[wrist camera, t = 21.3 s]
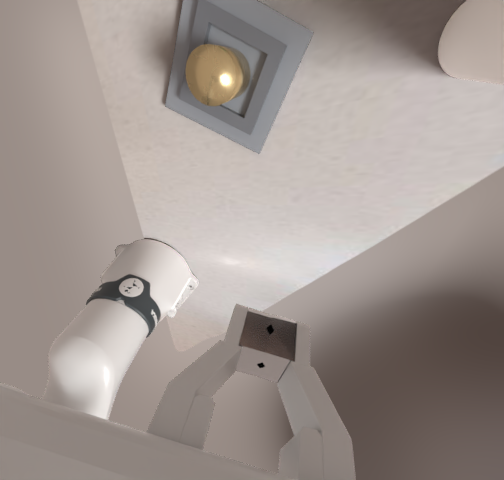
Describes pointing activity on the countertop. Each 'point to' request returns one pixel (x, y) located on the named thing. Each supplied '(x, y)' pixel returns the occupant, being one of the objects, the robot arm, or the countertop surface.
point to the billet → (217, 74)
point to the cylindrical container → (474, 42)
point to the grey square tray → (257, 54)
